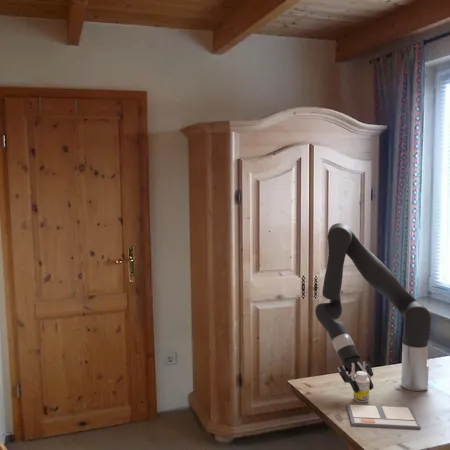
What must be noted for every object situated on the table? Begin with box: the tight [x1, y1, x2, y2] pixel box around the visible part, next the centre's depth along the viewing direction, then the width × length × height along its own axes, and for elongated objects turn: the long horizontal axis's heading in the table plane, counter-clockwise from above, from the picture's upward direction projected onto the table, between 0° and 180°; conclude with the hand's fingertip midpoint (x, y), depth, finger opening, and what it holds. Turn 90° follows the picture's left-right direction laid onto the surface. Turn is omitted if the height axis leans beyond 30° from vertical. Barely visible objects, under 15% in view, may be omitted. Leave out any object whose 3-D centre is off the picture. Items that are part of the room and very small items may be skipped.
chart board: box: [346, 403, 422, 430], centre depth 172 cm, size 22×14×1 cm, turn 83°
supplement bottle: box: [353, 371, 370, 403], centre depth 185 cm, size 6×6×10 cm
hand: (364, 390), depth 184 cm, fingers closed on supplement bottle, 5 cm apart
